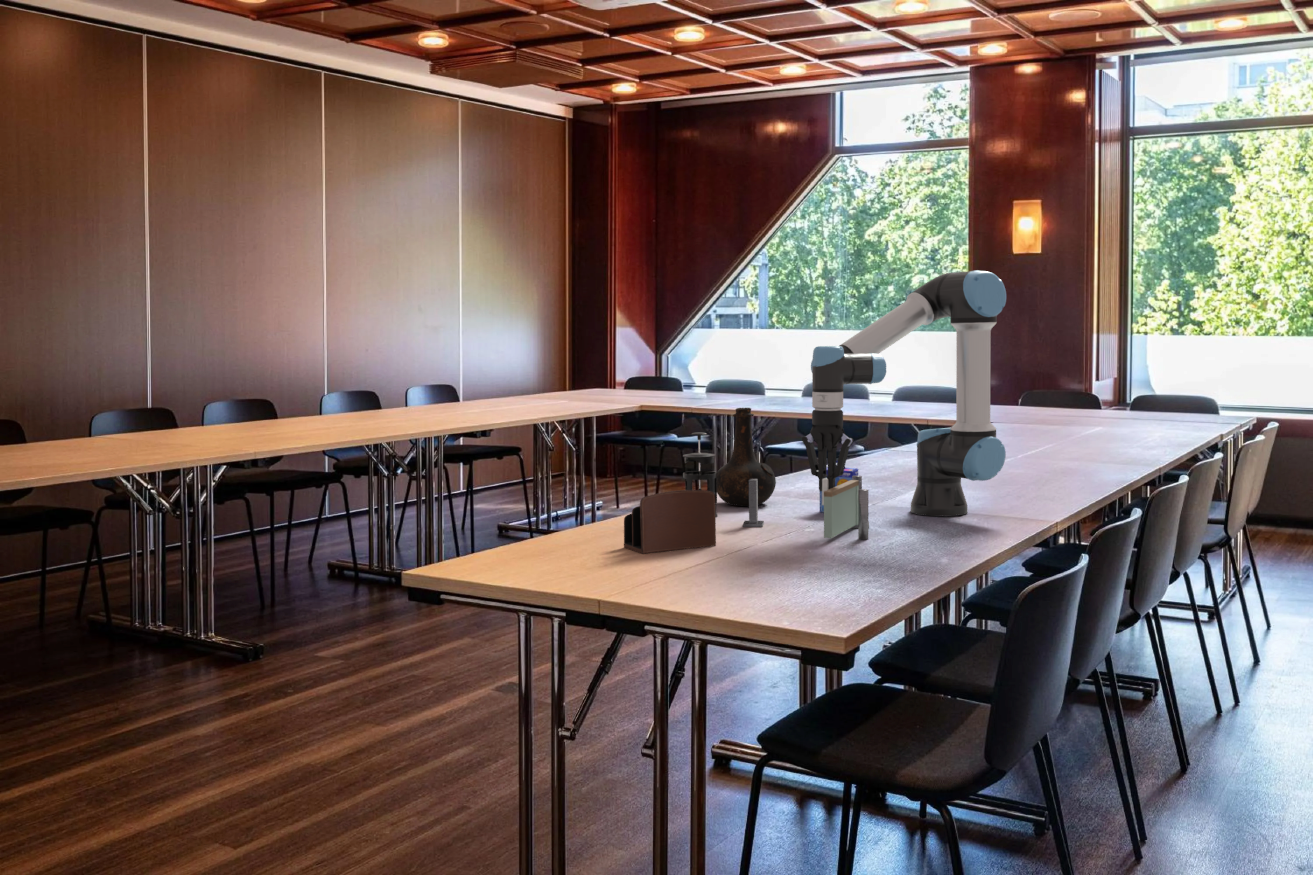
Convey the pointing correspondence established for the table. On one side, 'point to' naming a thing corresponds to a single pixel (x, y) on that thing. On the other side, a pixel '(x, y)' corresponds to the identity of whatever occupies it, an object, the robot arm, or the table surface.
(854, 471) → the ink cartridge box
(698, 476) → the french press
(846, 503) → the gate
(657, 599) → the table surface
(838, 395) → the robot arm
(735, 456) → the dark brown vase
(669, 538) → the letter holder
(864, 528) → the pair of grey posts
